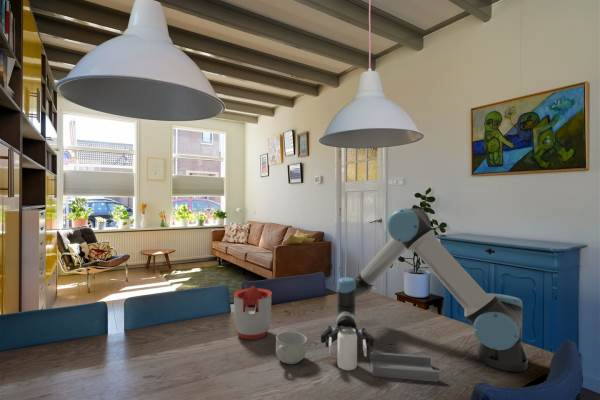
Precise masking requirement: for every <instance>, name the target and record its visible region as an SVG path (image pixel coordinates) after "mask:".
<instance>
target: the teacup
mask: <svg viewBox="0 0 600 400" xmlns="http://www.w3.org/2000/svg"><path fill="white" fill-rule="evenodd" d="M275 339H276V340H275V355H276V357H277V358H278V359H279V360H280V361H281V362H282V363H283V364H286V365H295V364H296V365H297V364H298V363H299V362H300V361H303V359H304V358H305V357H306V352H307V342H308V338H307V336H306V335H304V334H303V333H300V332H297V331H281V332H279V333H278V334H277V335H275Z"/></svg>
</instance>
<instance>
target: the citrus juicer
mask: <svg viewBox="0 0 600 400" xmlns="http://www.w3.org/2000/svg"><path fill="white" fill-rule="evenodd" d="M272 295H273V292H272V291H271V290H270V289H266V288H259V287H256V286H255V285H251V287H249V288H243V289H239V290H236V291H234V292H233V322H234V326H235V330H236V333H237V336H238V337H239V338H241V339H244V340H258V339H259V340H261V339H262V338H264V337H266V336H267V333H268V331H269V327H270V324H271V320H272V319H271V318H272Z"/></svg>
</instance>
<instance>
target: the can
mask: <svg viewBox="0 0 600 400" xmlns="http://www.w3.org/2000/svg"><path fill="white" fill-rule="evenodd" d="M336 353H337V354H336V355H337V359H336V360H337V361H336V362H337V366H338V368H339V369H340V370H342V371H347V372H348V371H349V372H351V371H353V370H356V368H357V366H358V365H357V363H358V341H357V334H356V330H355V329H353V328H348V327H344V328H340V329H339V333H338V339H337V352H336Z"/></svg>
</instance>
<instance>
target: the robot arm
mask: <svg viewBox="0 0 600 400" xmlns="http://www.w3.org/2000/svg"><path fill="white" fill-rule="evenodd" d="M386 228H387V231H388V234H389V236H391V238H390V239H389V240H388V241H387V242H386V243H385V244H384V246H383V247H382V248H381V249H380V250H379V252H377V254H376V255H375V256H374V257H373V258H372V259H371V260H370V261H369V263H368V264H367V265H366V266H365V267H364V268H363V269H362V270H361V271H360V273H359V274H358V275H357V276H356V277H355V278H353V277H349V276H348V277H347V276H344V277H340V278H339V279H338V280H337V287H336V289H337V293H336V294H337V296H336V297H337V301H336V302H337V303H336V306H337V307H336V309H337V310H336V327H332V326H331V325H328V326H327V327H328V328H327V329H326V330H325V331H324V332H323V333H321V335H320V343H322V344H324V343H325V347H326V348H328V353H327V354H329V355H330V354H331V353H332V343H333V342H335V341H338V333H339V329H340V328H344V327H348V328H353V329H355V330H356V334H357V343H360V344H361V345H362V350H363V356H364V357H367V351H369V350H370V347H372V348H373V347H374V344H375V343H374V342H375V341H374V340H375V339H374V338H373V337H372V335H370V333H368V332H367V331H366V328H365V327H362V329H358V328H357V321H356V300H357V298H359V297H362V296H363V295H366V294H368V293H369V292H371V290H372V289H373V286H374V285H375V284H376V283H377V281H378V280H380V278H381V277H382V276H383V275H384V274H386V272H387V271H388V270H389V269H390V267H392V266H393V264H395V262H396V261H397V260H398V259H399V258H400V257H401V256H402V255H403V254H404V253H405V252H406V250H407V251H410V252H415V254H417V256H418V257H419V259H421V260H422V261H423V263H424V264H425V265H426V267H428V269H429V270H430V271H431V272H432V273H433V274H434V276H435V277H436V278H437V279H438V280H439V281H440V283H442V284H443V286H444V287H445V288H446V289H447V290H448V292H450V294H451V295H452V296H453V297H454V298H455V300H456V301H457V302H458V303H459V304H460V305H461V307H463V309H464V318H466V320H468V322H469V323H470V324H471V325H472V327H473V332H474V335H475V337H476V338H477V340H479V344H478V347H477V350H476V356H477V359H478V360H479V361H480V362H481V363H484V364H485V365H487V366H489V367H491V368H494V369H497V370H501V371H505V372H513V373H514V372H515V373H519V372H524V371H527V369H528V368H529V367H528V363H529V359H528V358H527V354H526V351H525V349H524V346H523V310H524V306H523V300H521V299H520V298H519V297H516V296H511V295H508V294H507V295H506V294H499V293H492V292H491V293H486V291H485V290H484V289H483V288H482V287H481V286H480V285H479V284H478V283H477V282H476V281H475V280H474V279H473V278H474V277H473V278H472V276H471V275H470V274H469V273H468V272H467V271H466V270H465V269H464V268H463V266H462V265H461V264H460V263H459V262H458V261H457V260H456V258H454V257H453V256H452V254H451V253H450V252H449V251H448V250H447V249H446V248H445V247H444V245H442V244H441V242H440V241H439V240H438V239H437V238H436V237H435V229H433V227H431V220H430V217H429V215H428V214H427V213H426V212H425V211H424V210H423V209H420V208H413V207H411V208H405V207H404V208H400V209H397V210H395V211H394V212H392V213H391V215H390V216H389V218H388V220H387V226H386Z"/></svg>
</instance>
